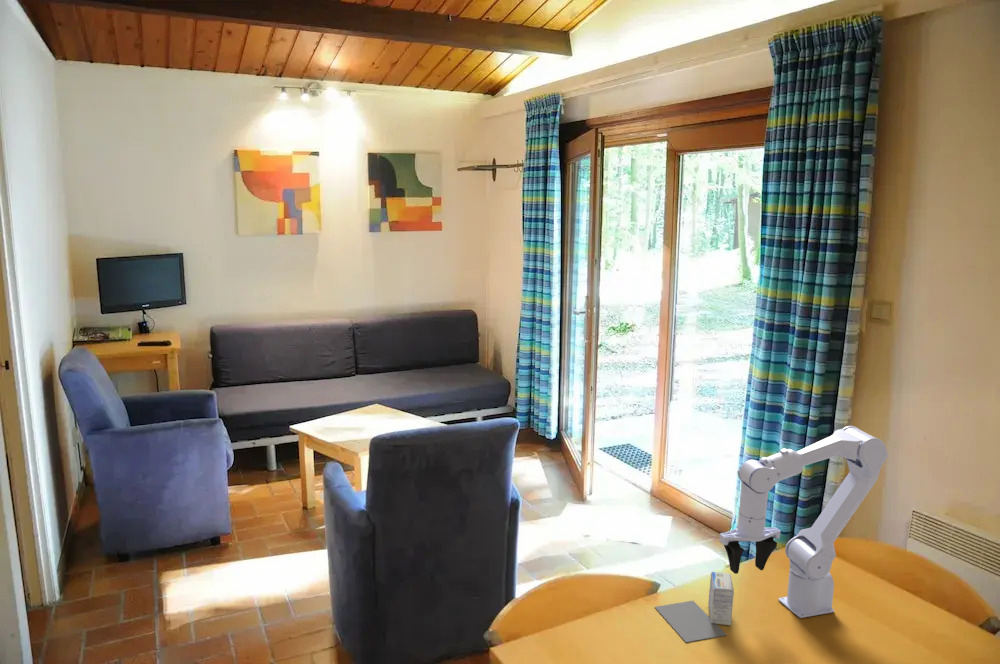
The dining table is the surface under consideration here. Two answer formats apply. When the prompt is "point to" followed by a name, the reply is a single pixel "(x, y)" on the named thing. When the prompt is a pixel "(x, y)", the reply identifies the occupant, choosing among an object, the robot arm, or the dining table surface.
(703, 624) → the grey mat
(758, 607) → the dining table surface
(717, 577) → the medicine box
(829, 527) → the robot arm
